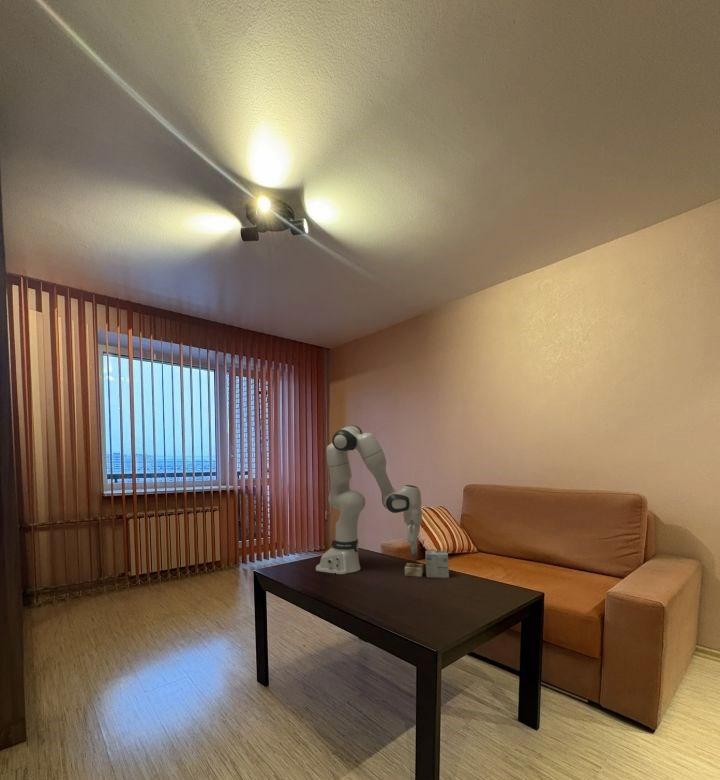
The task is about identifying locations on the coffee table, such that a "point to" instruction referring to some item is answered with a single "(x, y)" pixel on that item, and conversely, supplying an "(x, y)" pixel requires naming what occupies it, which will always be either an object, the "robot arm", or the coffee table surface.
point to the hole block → (413, 569)
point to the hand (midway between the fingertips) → (414, 548)
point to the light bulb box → (437, 564)
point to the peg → (414, 552)
